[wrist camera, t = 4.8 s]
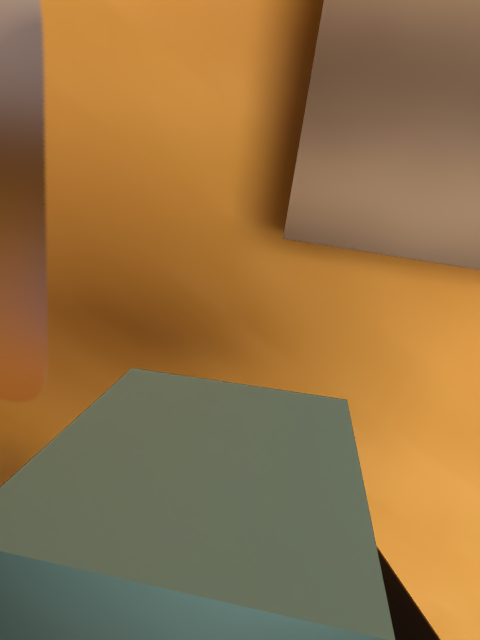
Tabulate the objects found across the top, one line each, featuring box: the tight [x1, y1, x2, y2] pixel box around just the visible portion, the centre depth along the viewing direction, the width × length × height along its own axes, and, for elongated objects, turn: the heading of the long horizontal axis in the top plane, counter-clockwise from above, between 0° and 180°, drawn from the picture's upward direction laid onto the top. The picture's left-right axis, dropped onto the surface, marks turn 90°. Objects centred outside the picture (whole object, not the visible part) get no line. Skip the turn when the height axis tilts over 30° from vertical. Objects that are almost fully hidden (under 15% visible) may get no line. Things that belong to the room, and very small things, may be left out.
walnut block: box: [283, 0, 480, 270], centre depth 14 cm, size 11×10×4 cm
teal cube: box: [0, 368, 395, 640], centre depth 7 cm, size 5×5×5 cm
